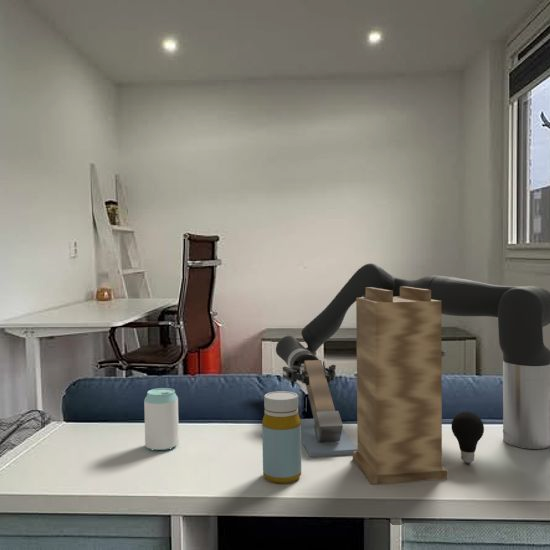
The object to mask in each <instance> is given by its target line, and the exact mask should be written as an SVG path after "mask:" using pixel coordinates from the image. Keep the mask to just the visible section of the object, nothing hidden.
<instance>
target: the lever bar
mask: <svg viewBox="0 0 550 550" xmlns="http://www.w3.org/2000/svg"><path fill="white" fill-rule="evenodd" d="M322 362H323V361H322V360H321V359H319V360H307V361H304V371H305V372H306V373H307V374H308V375H309V385H305V387H306V391H307V392H306V393H307V395H308V400H309V405H310V409H311V413H312V417H313V418H314V422H315V424H314V430H315V434H316V438H317V442H335V441H340V438H341V432H342V429H343V426H344V425H343V421H342V418H341V415H340V412H339V410H336V408H335V405H334V402H333V397H332V394H331V390H330V387H329V384H328V383H327V379H326V377H325V372H324V369H323V363H322ZM313 418H312V419H313Z"/></svg>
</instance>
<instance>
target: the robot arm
mask: <svg viewBox="0 0 550 550" xmlns="http://www.w3.org/2000/svg"><path fill="white" fill-rule="evenodd" d="M404 286H406V287H413V288H420V289H428V290H431V299H433V300H438V301H441V315H443V316H454V317H491V318H492V317H493V318H497V321H498V322H497V325H498V327H497V328H498V342H499V344H498V345H499V346H500V349H501V350H500V351H501V352H502V360H503V361H502V407H503V408H502V421H503V422H502V437H503V438H502V439H503V441H504V442H505V443H507V444H508V445H510V446H514V447H517V448H521V449H528V450H543V449H547V448H550V348H548V347H546V345H545V343H544V332H543V331H544V330H543V329H544V327H547V326H548V325H550V290H547V289H546V288H544V287H542V286H537V285H527V286H525V285H524V286H523V285H521V286H518V285H516V286H515V285H499V284H497V285H496V284H490V283H487V282H486V283H484V282H480V281H477V280H471V279H466V278H460V277H454V276H447V275H446V276H444V275H436V274H435V275H432V274H431V275H426V276H423V277H421V278H418V279H413V280H411V279H406V278H401V277H396V276H395V275H392V274H390V272H387V271H386V270H385V269H384V268H382V267H380V266H379V265H378V264H375V263H365V264H364V265H363V266H361V267H359V268H358V269H357V270H356V271H355V272H354V274H353V275H352V276H351V277H350V278H349V279H348V280H347V282H346V283H345V284H344V285H343V287H342V288H341V289H340V290H339V291H338V293H337V294H336V295H335V296H334V298H333V299H332V300H331V302H329V304H328V305H327V306H326V307H325V308H324V309H323V310H322V311H321V312H319V314H318V315H316V316H315V317H314V318H313V319H312V320H310V322H309V323H308V324H307V325H305V326H304V327H303V328H302V330H301V333H300V334H301V337H302V338H303V341H304V342H305V344H306V345H307V347H305V346H304V345H303V344H302V343H301V342H300V341H299V340H298V339H297V338H295V337H294V336H292V335H287V336H283V337H281V338H280V339H279V341H278V342H277V343H276V346H275V353H276V355H277V356H278V357H279V358H281V359H282V360H283V362H285V364H286V365H287V366H282V378H284V379H286V380H287V381H290V382H293V383H296V382H299V383H302V384H304V385H305V386H306V385H309V375H308V374H307V373H306V372H305V371H304V361H307V360H320V359H319V358H318V357H317V356H316V355H315V354H316V352H317V351H318V349H319V348H320V347H321V346H322V345H324V344H325V343H326V342H327V341H328V340H329V339H330V338H332V337H333V336H334V335H335V334H336V333H337V332H338V331H339V329H340V327H341V326H342V324H343V321H344V319H345V317H346V314H347V313H348V310H349V309H350V308H351V306H353V304H354V303H356V298H365V297H366V287H373V288H379V289H385V290H391V291H393V297H400V287H404ZM322 365H323V364H322ZM336 366H337V365H336V364H331V365H329V366H328V367H326V366H325V365H323V369H324V372H325V377H326V379H327V383H328V385H329V383H331V381H334V380H335V379H336V376H337V367H336Z"/></svg>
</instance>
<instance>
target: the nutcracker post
mask: <svg viewBox="0 0 550 550" xmlns="http://www.w3.org/2000/svg"><path fill="white" fill-rule="evenodd" d="M355 304H356V308H355V311H356V312H355V313H356V318H355V320H356V322H355V323H356V324H355V325H356V327H355V328H356V408H357V409H356V411H357V412H356V413H357V414H356V415H357V417H356V419H357V422H356V423H357V424H356V425H357V426H356V429H357V438H356V439H357V440H356V441H357V448H358V451H353V454H352V460H353V462H354V463H355V464H356V466H357V467H358V469H359V470H360V471H361V472H362V474H363V475H364V476H365V477H366V479H367V480H368V482H369V483H370V484H371V485H384V484H385V485H386V484H395V483H396V484H397V483H398V484H399V483H412V482H424V481H425V482H426V481H437V480H438V481H439V480H448V470H447V468H446V467H444V466H443V440H442V439H443V433H442V432H443V427H442V426H443V423H442V421H443V419H442V418H443V415H442V413H443V411H442V410H443V409H442V408H443V406H442V405H443V404H442V403H443V402H442V400H443V399H442V397H443V395H442V394H443V392H442V389H443V388H442V386H443V382H442V379H443V378H442V375H443V374H442V372H443V371H442V367H443V366H442V360H443V359H442V314H441V301H438V300H433V299H431V290H428V289H420V288H413V287H406V286H404V287H400V297H393V291H391V290H385V289H379V288H373V287H366V297H365V298H364V297H361V298H356V302H355Z"/></svg>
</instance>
